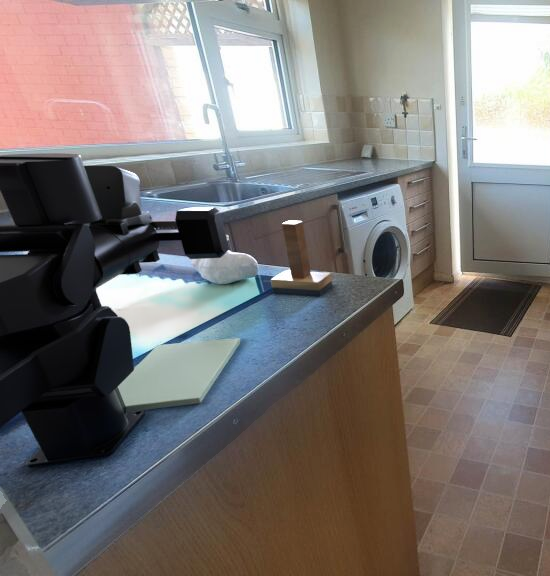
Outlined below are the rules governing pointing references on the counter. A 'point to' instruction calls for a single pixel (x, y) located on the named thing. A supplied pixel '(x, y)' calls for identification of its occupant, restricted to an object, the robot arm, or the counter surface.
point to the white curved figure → (226, 267)
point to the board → (176, 374)
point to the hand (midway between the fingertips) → (167, 219)
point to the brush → (299, 266)
